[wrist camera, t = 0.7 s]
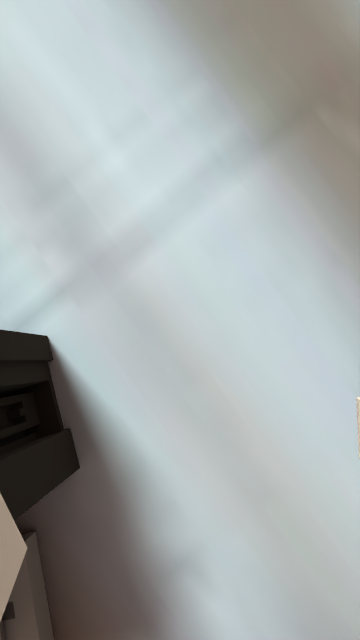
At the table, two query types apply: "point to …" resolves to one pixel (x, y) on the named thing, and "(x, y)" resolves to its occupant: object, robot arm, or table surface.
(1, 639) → the fader
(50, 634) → the fader panel
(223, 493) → the table surface
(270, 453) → the table surface
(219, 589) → the table surface
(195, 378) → the table surface
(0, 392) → the game console
